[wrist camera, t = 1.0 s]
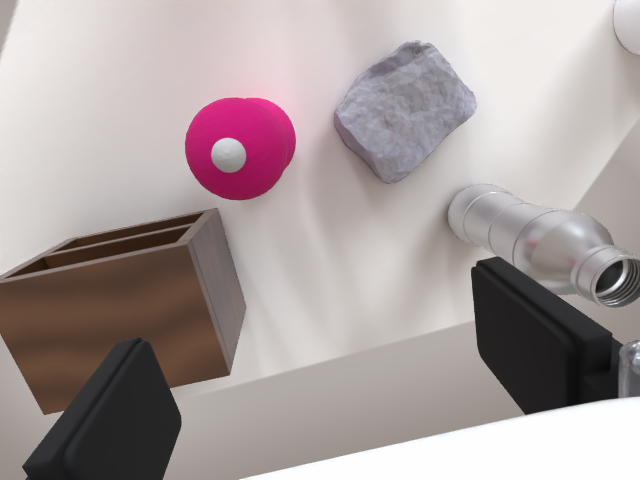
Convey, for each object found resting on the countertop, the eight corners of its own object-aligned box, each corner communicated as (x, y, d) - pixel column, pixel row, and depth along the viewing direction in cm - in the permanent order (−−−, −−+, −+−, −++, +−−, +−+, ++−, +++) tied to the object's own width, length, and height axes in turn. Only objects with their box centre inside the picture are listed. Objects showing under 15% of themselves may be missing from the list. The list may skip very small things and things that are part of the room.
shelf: (68, 239, 39) (-25, 288, 28) (217, 207, 40) (186, 244, 28) (110, 336, 43) (43, 415, 32) (246, 307, 43) (229, 375, 32)
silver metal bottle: (437, 188, 41) (566, 248, 22) (498, 173, 41) (680, 220, 22) (445, 243, 43) (568, 342, 24) (503, 229, 43) (673, 316, 24)
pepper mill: (244, 185, 39) (198, 248, 20) (209, 119, 37) (121, 118, 18) (306, 156, 39) (321, 191, 20) (275, 87, 36) (257, 51, 17)
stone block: (322, 122, 39) (388, 190, 40) (320, 113, 35) (395, 191, 35) (406, 35, 38) (473, 108, 38) (416, 14, 33) (492, 97, 34)
